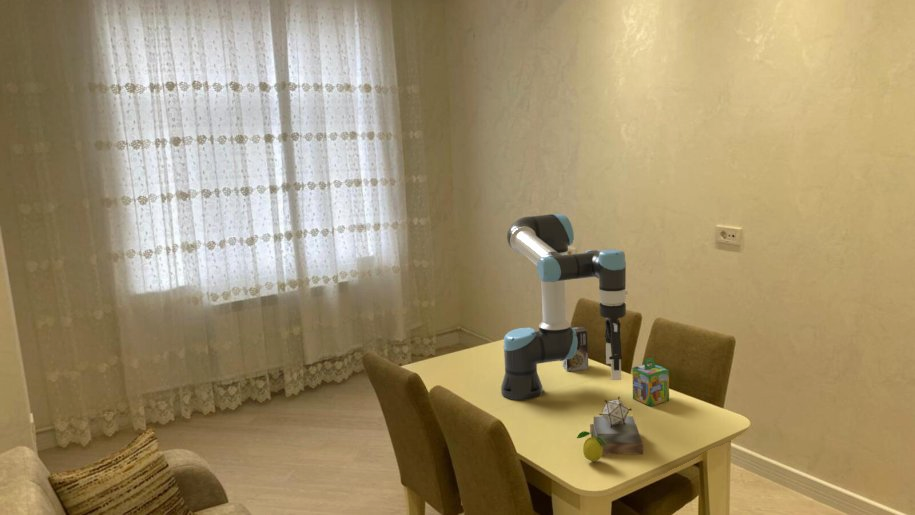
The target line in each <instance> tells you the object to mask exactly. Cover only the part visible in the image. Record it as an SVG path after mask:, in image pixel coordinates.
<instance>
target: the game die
mask: <svg viewBox="0 0 915 515" xmlns="http://www.w3.org/2000/svg"><path fill="white" fill-rule="evenodd" d="M620 398H621V397H620V396H618V397H617V399H611V400H608V401H607V399H604V402H605V404H604V407H603V409H602V412H601V413H599V414H598V416H603V417H604V418H605V419H606V420H607V421H608V422H609V423H610V424H611V426H610V427H611V428H612V425H616V424H620V423H624V424H625V422H624V421H625V419H626V416H628V414H629V411H632V410H633V409H632V408H628V407H627V405H625V403H624V402H623V401H621V399H620Z"/></svg>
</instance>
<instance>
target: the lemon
mask: <svg viewBox="0 0 915 515" xmlns="http://www.w3.org/2000/svg"><path fill="white" fill-rule="evenodd" d="M591 433H592V437H591V436H590V437H588V438H587V439H585V440H584V443H583V446H582V452H583V455H584V458H586V459H587V460H588V461H591V463H595V462H596V461H599V460H601V458H602V457H603V456H602V455H603V454H602V453H603V449H602V445H601V443H600V441H601V442H602V443H603V444H604V445H605V443H604V441H603V440H602V439H601V438H599V437H596V436H594V435H593V429H592V432H591ZM589 435H591V434H590V432H588V431H585V430H584V431H581V432H580V433H578V434H577V437H576V439H582V438H585V437H587V436H589ZM593 436H594V437H596V438H594V437H593ZM605 447H606V445H605ZM606 448H607V447H606Z"/></svg>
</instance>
